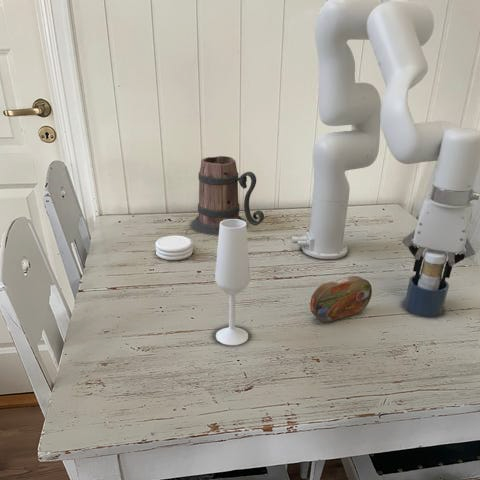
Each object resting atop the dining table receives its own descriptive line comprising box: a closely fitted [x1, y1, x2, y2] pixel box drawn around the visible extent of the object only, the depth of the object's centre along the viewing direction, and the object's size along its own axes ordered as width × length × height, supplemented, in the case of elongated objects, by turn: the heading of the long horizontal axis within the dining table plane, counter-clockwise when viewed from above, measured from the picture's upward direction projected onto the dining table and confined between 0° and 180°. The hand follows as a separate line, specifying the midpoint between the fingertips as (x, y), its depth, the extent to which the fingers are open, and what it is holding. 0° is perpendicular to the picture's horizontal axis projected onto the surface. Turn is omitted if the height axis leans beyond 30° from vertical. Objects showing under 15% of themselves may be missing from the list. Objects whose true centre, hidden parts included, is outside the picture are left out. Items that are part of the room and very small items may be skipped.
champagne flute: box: [214, 219, 251, 346], centre depth 93 cm, size 7×7×24 cm
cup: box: [403, 273, 450, 318], centre depth 109 cm, size 8×8×6 cm
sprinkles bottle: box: [418, 248, 448, 290], centre depth 107 cm, size 5×5×13 cm
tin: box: [309, 275, 373, 323], centre depth 105 cm, size 15×3×8 cm, turn 117°
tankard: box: [191, 155, 265, 236], centre depth 147 cm, size 24×17×20 cm
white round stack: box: [154, 235, 194, 261], centre depth 133 cm, size 10×10×4 cm
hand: (430, 276), depth 106 cm, fingers open, 4 cm apart
